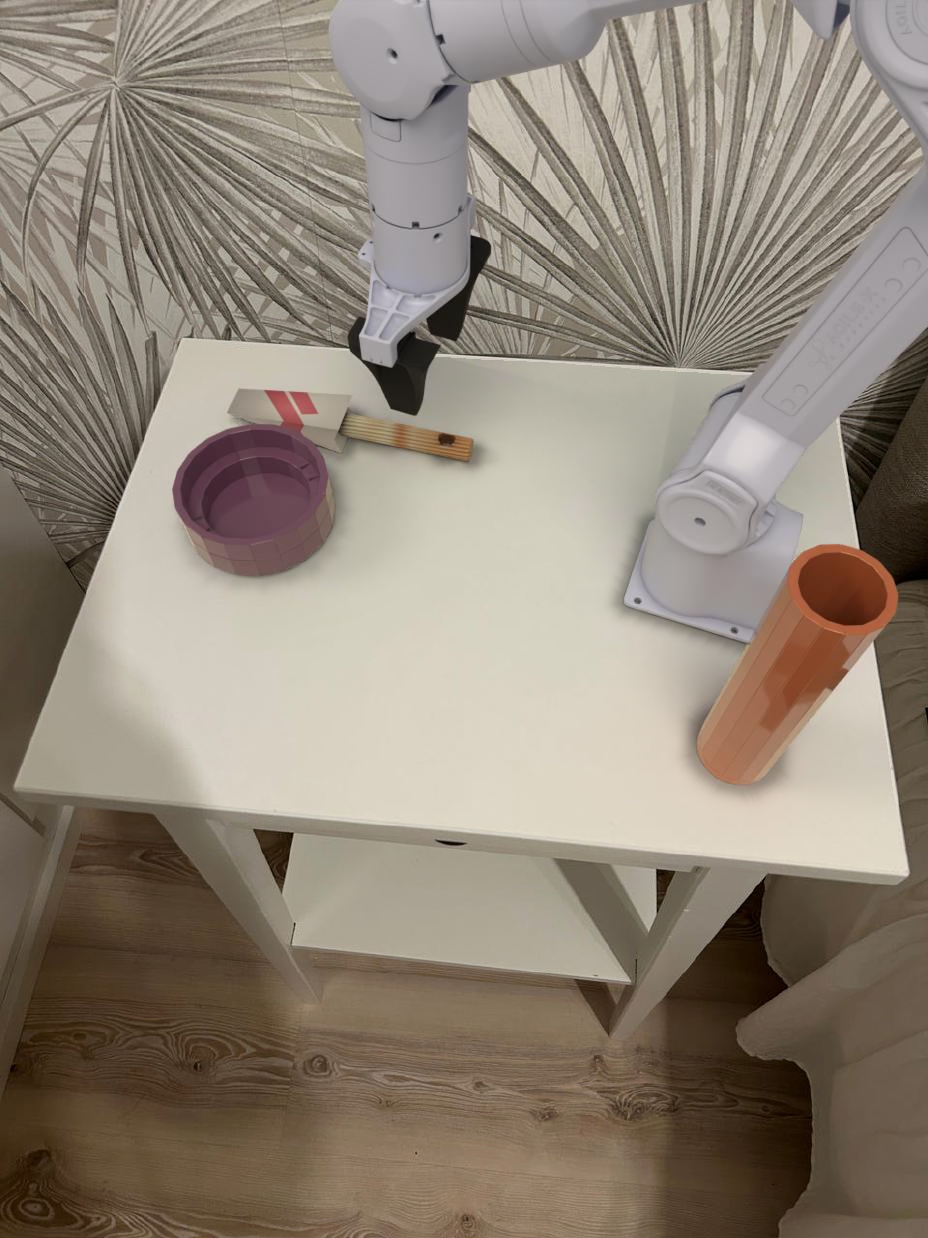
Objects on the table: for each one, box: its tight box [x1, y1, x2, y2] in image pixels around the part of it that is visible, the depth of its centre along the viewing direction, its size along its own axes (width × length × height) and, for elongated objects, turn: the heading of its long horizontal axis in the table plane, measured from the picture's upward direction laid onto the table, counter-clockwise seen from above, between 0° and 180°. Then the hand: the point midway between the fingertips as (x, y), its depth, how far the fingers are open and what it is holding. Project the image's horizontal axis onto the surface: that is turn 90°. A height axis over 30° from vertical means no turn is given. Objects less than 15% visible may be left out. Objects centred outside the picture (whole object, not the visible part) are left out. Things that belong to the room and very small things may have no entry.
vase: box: [696, 543, 899, 786], centre depth 50 cm, size 5×5×20 cm
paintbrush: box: [226, 387, 474, 462], centre depth 72 cm, size 4×3×20 cm
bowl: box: [171, 423, 336, 576], centre depth 67 cm, size 11×11×4 cm
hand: (425, 370), depth 63 cm, fingers open, 7 cm apart
